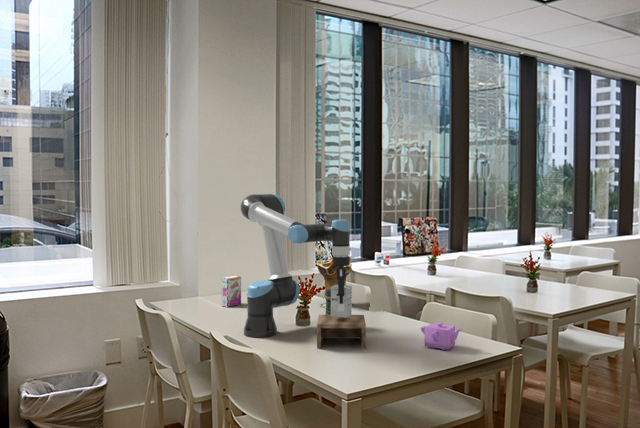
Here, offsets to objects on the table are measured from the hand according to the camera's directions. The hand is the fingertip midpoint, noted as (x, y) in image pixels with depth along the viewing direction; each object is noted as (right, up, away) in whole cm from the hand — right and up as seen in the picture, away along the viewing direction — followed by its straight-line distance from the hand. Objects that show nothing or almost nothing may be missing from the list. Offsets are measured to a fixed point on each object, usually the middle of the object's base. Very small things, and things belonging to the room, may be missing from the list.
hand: (341, 308), depth 232 cm
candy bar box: (-60, -12, +81) cm, 101 cm away
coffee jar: (-2, -14, +29) cm, 32 cm away
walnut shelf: (0, -15, +1) cm, 15 cm away
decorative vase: (0, -12, +79) cm, 80 cm away
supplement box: (0, -3, 0) cm, 3 cm away
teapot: (+41, -15, -8) cm, 44 cm away
